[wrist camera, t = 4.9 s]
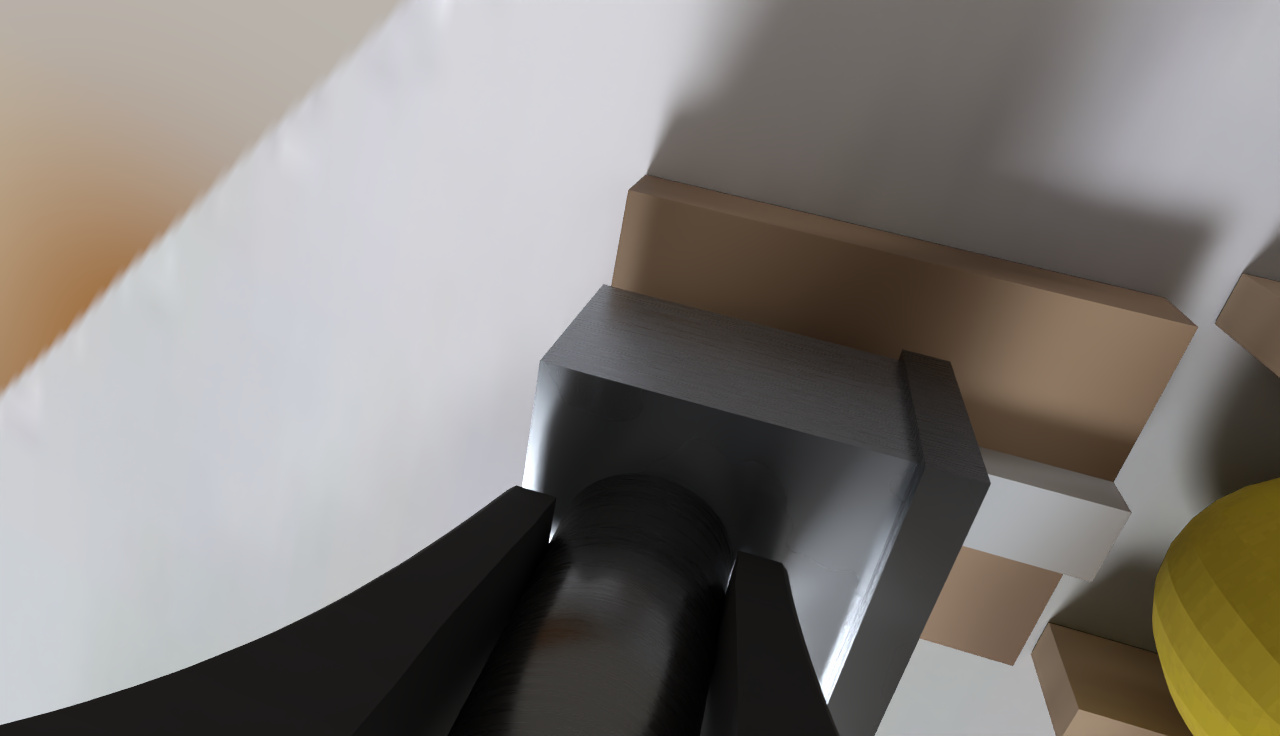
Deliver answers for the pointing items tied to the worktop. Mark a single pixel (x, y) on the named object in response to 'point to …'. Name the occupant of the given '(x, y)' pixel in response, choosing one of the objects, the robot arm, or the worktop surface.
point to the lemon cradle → (1114, 672)
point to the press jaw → (723, 516)
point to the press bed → (981, 360)
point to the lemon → (1224, 615)
